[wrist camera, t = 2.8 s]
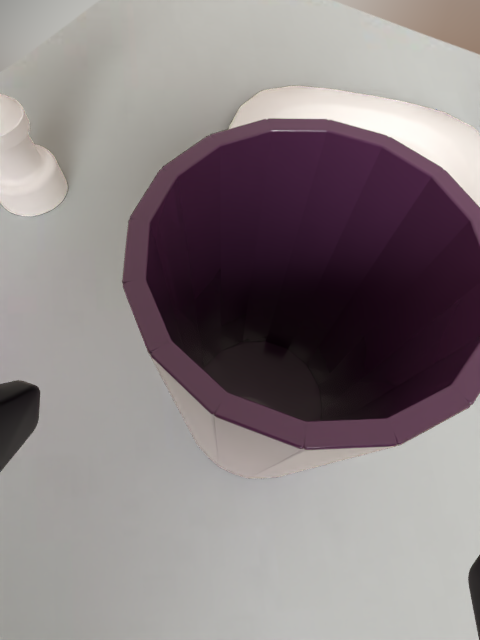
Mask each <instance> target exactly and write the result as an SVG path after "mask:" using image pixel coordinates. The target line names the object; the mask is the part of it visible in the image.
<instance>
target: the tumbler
mask: <svg viewBox="0 0 480 640" xmlns="http://www.w3.org/2000/svg"><path fill="white" fill-rule="evenodd" d="M122 283H123V289H124V291H125V294H126V297H127V299H128V302H129V304H130V307H131V310H132V312H133V315H134V317H135V320H136V322H137V325H138V328H139V330H140V333H141V335H142V338H143V341H144V343H145V346H146V348H147V351H148V353H149V355H150V357H151V359H152V361H153V363H154V365H155V366H156V368H157V370H158V372H159V374H160V376H161V378H162V380H163V382H164V383H165V385H166V387H167V389H168V391H169V393H170V395H171V397H172V399H173V401H174V402H175V404H176V406H177V408H178V410H179V412H180V414H181V416H182V418H183V420H184V421H185V423H186V425H187V427H188V429H189V431H190V433H191V435H192V437H193V439H194V440H195V442H196V444H197V446H198V447H199V448H200V449H201V450H202V451H203V452H204V453H205V454H206V456H207V457H208V458H209V459H210V460H211V461H213V462H214V463H215V464H216V465H217V466H218V467H220V468H222V469H224V470H226V471H228V472H230V473H232V474H235V475H238V476H241V477H244V478H248V479H263V478H275V477H281V476H285V475H289V474H292V473H296V472H300V471H304V470H308V469H311V468H315V467H319V466H323V465H327V464H330V463H334V462H338V461H342V460H346V459H349V458H353V457H357V456H361V455H365V454H369V453H372V452H376V451H380V450H384V449H388V448H391V447H395V446H399V445H402V444H403V443H405V442H407V441H409V440H411V439H413V438H414V437H416V436H418V435H420V434H422V433H424V432H425V431H427V430H429V429H431V428H433V427H435V426H436V425H438V424H440V423H442V422H444V421H446V420H448V419H449V418H451V417H453V416H455V415H457V414H459V413H460V412H462V411H464V410H466V409H468V408H469V407H470V405H472V404H473V403H474V402H475V400H476V398H477V397H478V395H479V394H480V207H479V206H478V205H477V204H476V203H475V201H474V200H473V199H472V198H471V197H470V196H469V195H468V194H467V193H466V192H465V191H464V190H463V188H462V187H461V186H460V185H459V184H458V183H457V182H456V181H455V180H454V179H453V178H452V176H451V175H450V174H449V173H448V172H447V171H446V170H443V168H442V167H441V166H439V165H437V164H436V163H434V162H432V161H430V160H429V159H427V158H425V157H424V156H422V155H420V154H419V153H417V152H415V151H414V150H412V149H410V148H409V147H407V146H405V145H404V144H402V143H400V142H398V141H397V140H395V139H393V138H392V137H388V136H387V135H384V134H380V133H377V132H373V131H370V130H366V129H362V128H359V127H355V126H352V125H348V124H344V123H341V122H337V121H334V120H327V119H282V118H269V119H263V120H259V121H256V122H252V123H249V124H245V125H241V126H238V127H234V128H231V129H227V130H224V131H220V132H217V133H213V134H211V135H210V136H209V135H208V136H206V137H205V138H203V139H202V140H201V141H199V142H198V143H196V144H195V145H193V146H192V147H191V148H189V149H188V150H186V151H185V152H183V153H182V154H180V155H179V156H178V157H176V158H175V159H173V160H172V161H170V162H169V163H167V164H166V165H165V166H163V167H162V169H160V170H159V172H158V173H157V175H156V176H155V178H154V180H153V181H152V183H151V184H150V186H149V188H148V189H147V191H146V192H145V194H144V195H143V197H142V199H141V200H140V202H139V203H138V205H137V207H136V208H135V210H134V211H133V213H132V214H131V216H130V220H129V221H128V229H127V239H126V248H125V258H124V268H123V278H122Z"/></svg>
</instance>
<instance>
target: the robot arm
mask: <svg viewBox="0 0 480 640" xmlns="http://www.w3.org/2000/svg"><path fill="white" fill-rule="evenodd" d="M39 404H40V390H39V388H38V387H37V386H36V385H33V384H30V383H27V382H24V381H19V380H18V381H12V382H8V383H3V384H0V472H1V471H2V469H3V468H4V467H5V466H6V464H7V463H8V462H9V461H10V459H11V458H12V457H13V456H14V455H15V453H16V452H17V451H18V450H19V448H20V447H21V446H22V445H23V443H24V442H25V441H26V440H27V439H28V437H29V436H30V435H31V434H32V432H33V431H34V429H35V428H36V426H37V423H38V419H39ZM468 581H469V588H470V594H471V599H472V604H473V609H474V615H475V620H476V625H477V631H478V636H479V640H480V555H479V556H478V558H477V559H476V561H475V562H474V564H473V565H472V567H471V568H470V571H469V577H468Z"/></svg>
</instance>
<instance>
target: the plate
mask: <svg viewBox="0 0 480 640" xmlns="http://www.w3.org/2000/svg"><path fill="white" fill-rule="evenodd" d="M269 118H282V119H327V120H334V121H337V122H341V123H344V124H348V125H352V126H355V127H359V128H362V129H366V130H370V131H373V132H377V133H380V134H384V135H387V136H388V137H392V138H393V139H395V140H397V141H398V142H400V143H402V144H404V145H405V146H407V147H409V148H410V149H412V150H414V151H415V152H417V153H419V154H420V155H422V156H424V157H425V158H427V159H429V160H430V161H432V162H434V163H436V164H437V165H439V166H441V167H442V168H443V170H446V171H447V172H448V173H449V174H450V175H451V176H452V178H453V179H454V180H455V181H456V182H457V183H458V184H459V185H460V186H461V187H462V188H463V190H464V191H465V192H466V193H467V194H468V195H469V196H470V197H471V198H472V199H473V200H474V201H475V203H476V204H477V205H478V206H479V207H480V134H479V133H478V132H477V130H476V129H475V128H474V127H472V126H470V125H468V124H466V123H464V122H462V121H461V120H459V119H457V118H455V117H453V116H451V115H449V114H447V113H445V112H442V111H438V110H435V109H431V108H427V107H423V106H419V105H416V104H412V103H408V102H403V101H398V100H392V99H387V98H382V97H377V96H371V95H365V94H359V93H353V92H347V91H341V90H335V89H328V88H317V87H306V86H295V85H293V86H287V87H280V88H274V89H267V90H262V91H260V92H259V93H258V94H256V95H255V96H254V97H252V98H251V99H250V100H248V101H247V102H246V103H244V104H243V105H241V106H240V108H239V110H238V112H237V113H236V115H235V117H234V119H233V121H232V123H231V125H230V126H229V128H228V129H231V128H234V127H238V126H241V125H245V124H249V123H252V122H256V121H259V120H263V119H269Z"/></svg>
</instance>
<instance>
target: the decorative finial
mask: <svg viewBox="0 0 480 640" xmlns="http://www.w3.org/2000/svg"><path fill="white" fill-rule="evenodd" d="M29 131H30V121H29V119H28V117H27V115H26V113H25V111H24V109H23V107H22V105H21V104H20V103H19V102H18V101H17V100H16V99H14V98H12V97H9V96H6V95H4V94H1V93H0V203H1V204H2V205H3V207H4V208H5V209H6V210H8V211H9V212H11V213H13V214H16V215H20V216H36V215H40V214H43V213H46V212H48V211H50V210H52V209H54V208H55V207H57V206H58V205H59V204H60V203H61V202H62V201H63V199H64V198H65V196H66V194H67V190H68V184H67V181H66V179H65V177H64V175H63V173H62V171H61V169H60V167H59V165H58V163H57V161H56V159H55V157H54V155H53V154H52V153H51V152H50V151H49V150H47V149H46V148H44V147H42V146H39V145H36V144H34V143H33V141H32V140H31V138H30V136H29V134H28V133H29Z"/></svg>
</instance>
